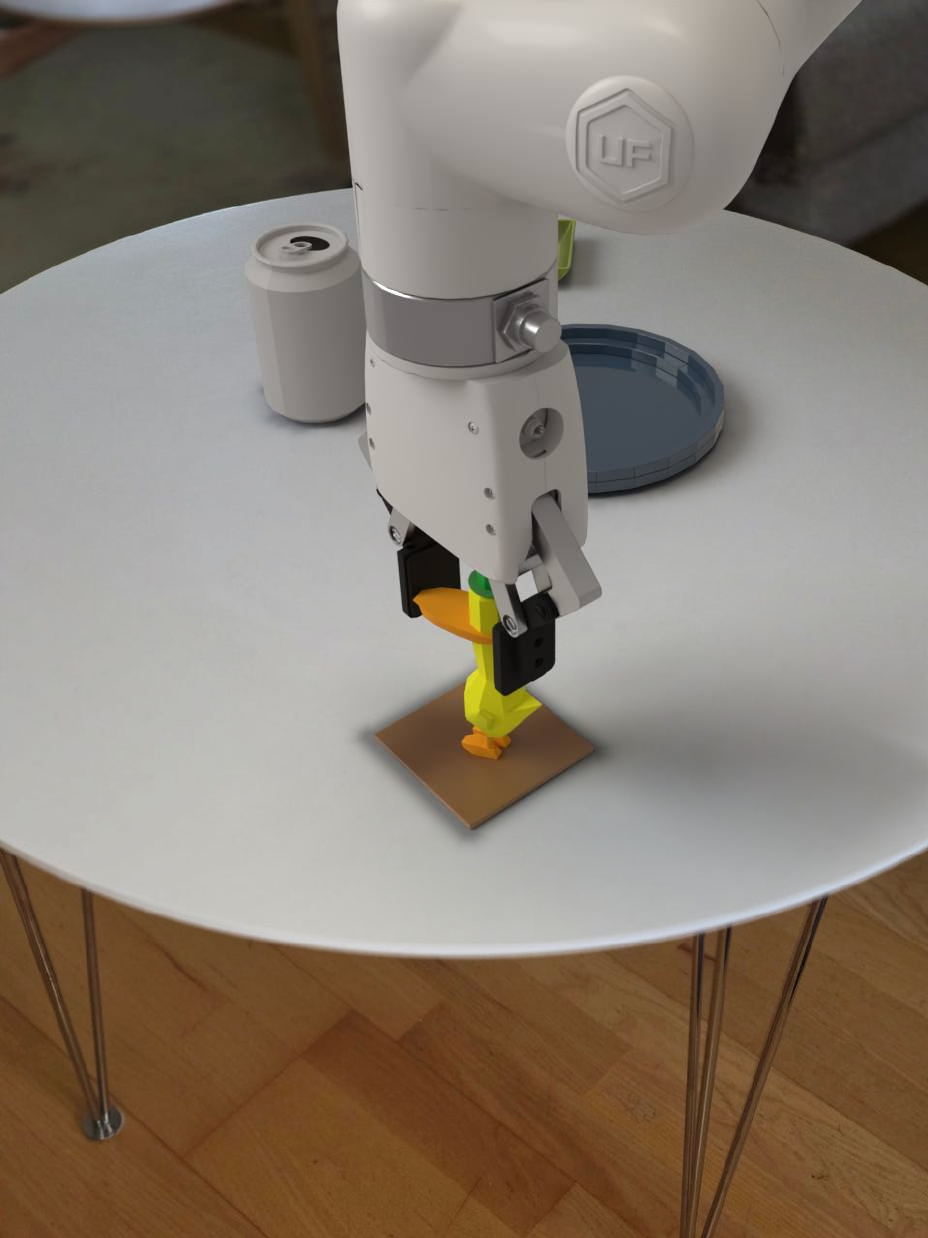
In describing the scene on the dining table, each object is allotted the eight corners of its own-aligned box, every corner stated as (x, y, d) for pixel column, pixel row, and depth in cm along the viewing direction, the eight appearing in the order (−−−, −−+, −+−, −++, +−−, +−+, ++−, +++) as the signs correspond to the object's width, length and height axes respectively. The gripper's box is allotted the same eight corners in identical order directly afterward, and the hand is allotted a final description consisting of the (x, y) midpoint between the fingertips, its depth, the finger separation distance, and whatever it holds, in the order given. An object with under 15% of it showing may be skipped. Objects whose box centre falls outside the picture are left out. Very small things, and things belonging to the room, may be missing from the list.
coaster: (594, 752, 69) (594, 746, 69) (470, 831, 65) (470, 826, 65) (494, 669, 74) (494, 664, 73) (373, 739, 70) (372, 734, 70)
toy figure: (409, 741, 69) (391, 556, 61) (445, 698, 72) (433, 514, 64) (525, 789, 67) (523, 602, 59) (559, 742, 69) (561, 556, 61)
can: (395, 389, 96) (380, 228, 88) (331, 442, 91) (310, 277, 83) (309, 363, 99) (288, 205, 91) (244, 413, 94) (216, 251, 86)
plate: (779, 425, 90) (783, 397, 89) (573, 537, 82) (573, 508, 81) (593, 324, 101) (594, 297, 100) (395, 414, 93) (392, 386, 92)
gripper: (689, 348, 49) (663, 702, 61) (406, 199, 60) (430, 525, 72) (531, 425, 46) (535, 783, 58) (260, 253, 57) (310, 586, 68)
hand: (477, 638), depth 65 cm, fingers open, 6 cm apart
